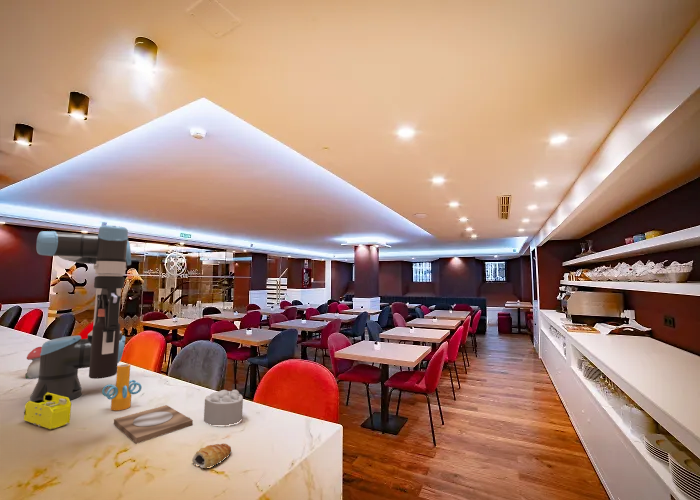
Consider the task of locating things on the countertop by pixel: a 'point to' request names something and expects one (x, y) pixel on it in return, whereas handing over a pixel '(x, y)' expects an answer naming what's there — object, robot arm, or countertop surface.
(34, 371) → the decorative ornament
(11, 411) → the countertop surface
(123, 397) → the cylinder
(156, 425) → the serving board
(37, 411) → the yellow toy chassis
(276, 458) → the countertop surface
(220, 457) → the pastry
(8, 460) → the countertop surface
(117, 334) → the vinegar
